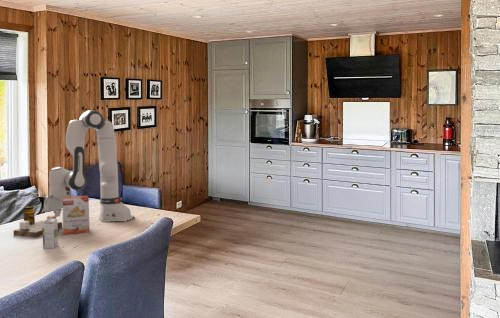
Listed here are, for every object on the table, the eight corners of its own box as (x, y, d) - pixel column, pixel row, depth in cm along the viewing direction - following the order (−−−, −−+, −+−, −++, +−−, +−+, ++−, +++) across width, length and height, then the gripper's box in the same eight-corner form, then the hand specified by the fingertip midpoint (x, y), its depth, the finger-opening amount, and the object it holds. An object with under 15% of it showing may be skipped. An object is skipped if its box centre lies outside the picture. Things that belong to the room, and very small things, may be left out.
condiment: (36, 226, 267) (35, 207, 265) (20, 228, 262) (19, 209, 261) (34, 223, 273) (33, 205, 271) (19, 225, 268) (18, 206, 267)
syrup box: (47, 245, 230) (45, 218, 228) (58, 245, 231) (57, 218, 229) (43, 248, 224) (41, 221, 223) (54, 248, 225) (53, 221, 223)
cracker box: (64, 235, 249) (62, 199, 246) (63, 232, 254) (61, 197, 251) (90, 232, 255) (88, 196, 253) (88, 229, 260) (87, 194, 258)
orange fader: (56, 222, 262) (56, 215, 262) (53, 223, 260) (52, 217, 259) (50, 222, 263) (50, 215, 263) (47, 223, 261) (46, 216, 260)
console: (62, 227, 265) (62, 222, 264) (36, 237, 244) (36, 232, 243) (41, 225, 268) (40, 220, 268) (13, 235, 247) (13, 230, 247)
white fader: (29, 228, 251) (29, 221, 250) (25, 229, 248) (25, 222, 247) (23, 227, 252) (23, 220, 251) (19, 228, 249) (19, 221, 248)
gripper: (49, 197, 255) (50, 220, 256) (72, 191, 275) (72, 213, 276) (40, 196, 257) (41, 219, 258) (63, 190, 276) (64, 212, 278)
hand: (57, 216), depth 267 cm, fingers closed
